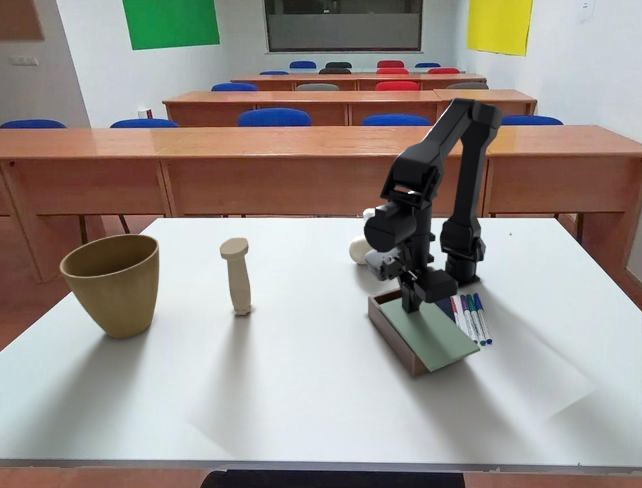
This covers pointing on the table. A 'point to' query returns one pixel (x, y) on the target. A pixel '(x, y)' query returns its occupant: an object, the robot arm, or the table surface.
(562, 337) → the table surface
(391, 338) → the brown wooden box
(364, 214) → the milkshake
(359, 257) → the cream round ball
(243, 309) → the handle
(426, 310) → the sliding door
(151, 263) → the plant pot
